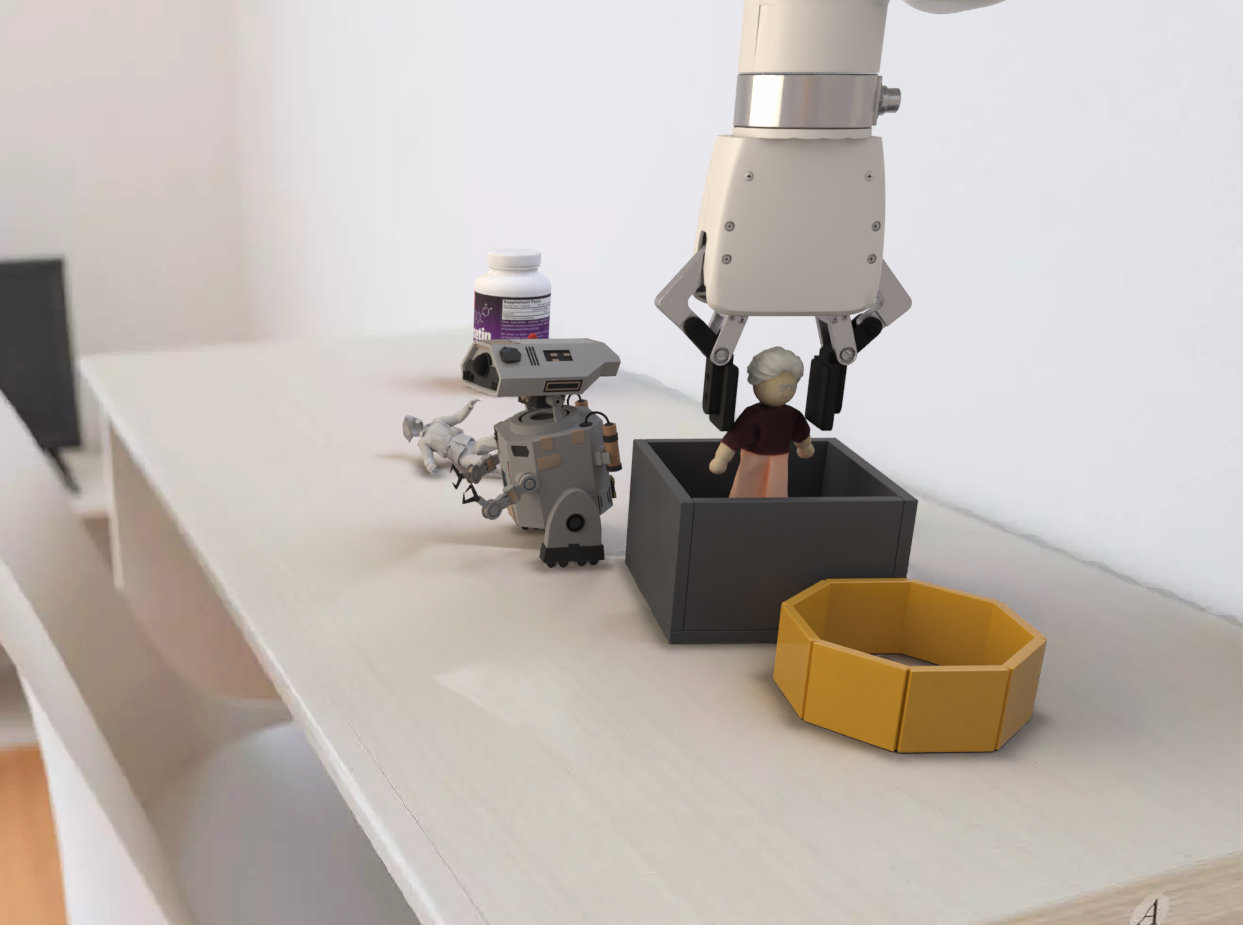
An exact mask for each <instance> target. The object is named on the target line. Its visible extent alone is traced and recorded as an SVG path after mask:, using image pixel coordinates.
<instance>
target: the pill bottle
mask: <svg viewBox="0 0 1243 925" xmlns="http://www.w3.org/2000/svg"><path fill="white" fill-rule="evenodd" d="M486 260H487V261H486V263H487V264H486V265H487V266H488V268H489V269H488V271H486V272H484V273H482V274H480V275H479V277H478V278H477V279H476V280H475V283H474V294H473V296H474V298H473V301H474V302H473V304H474V305H473V334H472V336H473V338H472V342H473V341H474V340H498V339H528V336H529V335H530V334H531V333H535V334H536V335H537V339H550V319H551V300H552V284H551V281H550V280H549V279H548V277H547V276H546V275H544V274H542V273H541V272H539V268H540V267H541V263H542V252H541V251H539V250H535V249H528V248H496V249H491V250H488V251H487V259H486Z"/></svg>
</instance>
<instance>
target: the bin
mask: <svg viewBox="0 0 1243 925" xmlns="http://www.w3.org/2000/svg"><path fill="white" fill-rule="evenodd" d="M722 438H723V437H722ZM722 438H719V437H718V438H713V437H712V438H711V437H709V438H634V439H633V440H632V453H631V468H630V482H629V496H628V510H627V511H628V512H627V523H626V524H627V525H626V526H627V527H626V540H625V541H626V542H625V553H624V554H625V555H624V563H625V565H626V567H627V569H628V571H629V572H630V575H631V576H632V578H633V580H634V582H635V584H636V585H637V588H638V589H639V591H640V593H641V595H642V597H643V598H644V600H645V602H646V604H647V605H648V607H649V609H650V611H651V613H652V615H653V616H654V619H655V620H656V622H657V624H658V626H659V628H660V630H661V632H662V633H663V635H664V638H666V640H667V643H668V644H673V645H674V644H675V645H676V644H748V643H749V644H750V643H751V644H755V643H756V644H758V643H761V644H762V643H764V644H765V643H769V644H770V643H777V639H778V631H779V622H780V614H781V605H782V603H783V602H784V601H786V600H788V599H790V598H791V597H793V596H795V595H797V594H798V593H800V592H802V591H804V590H805V589H807V588H809V587H811V586H812V585H814V584H816V583H817V582H819V581H821V580H826V579H869V578H908V570H909V564H910V559H911V558H910V557H911V551H912V544H913V538H914V531H915V526H916V518H917V512H918V505H919V499H918V498H916V497H915V496H913V495H912V494H911V493H909V492H908V491H907V490H906V489H904V488H903V487H902V486H900V485H899V484H897V483H896V482H895V481H894V480H892V479H891V478H890V477H888V476H887V475H886V474H884V473H883V472H882V471H880V470H879V469H877V468H876V467H875V466H874V465H872V464H871V463H870V462H868V461H867V460H866V459H865V458H864V457H862V456H861V455H859V454H858V453H857V452H855V451H854V450H853V449H851V448H850V447H849V446H847V445H846V444H845V443H843V442H842V441H841V440H840V439H838V438H837V437H811V444H812V446H813V447H814V454H813V456H812V457H810V458H807V459H804V458H800V457H799V456H798V454H797V446H796V445H795V444H794V441H791V442H790V451H789V457H788V485H787V493H788V497H763V498H729V495H730V492H731V489H732V487H733V483H734V480H735V476H736V473H737V470H738V467H739V465H740V461H741V449H739V450H738V451H737V452H735V454H734V456H733V458H732V460H731V461H730V462H728V464H727V468H726V470H725V472H724V473H722V474H714V473H712V472H711V471H710V468H709V465H710V463H711V461H712V460H713V459H714V458H715V456H716V451H717V449H718V448H719V446H720V444H721V440H722Z"/></svg>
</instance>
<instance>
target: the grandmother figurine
mask: <svg viewBox="0 0 1243 925" xmlns="http://www.w3.org/2000/svg"><path fill="white" fill-rule="evenodd" d="M804 371H805V366H804V362H803V361H802V359H801V356H800V355H796V353H795V352H794V351H792V350H789V349H785V348H784V347H783V346H777V345H776V346H773V347H770V348H767V349H763V350H762V351H760V352H758V353H757V354H756V355H753V356H752V360H751V361H750V362H749V364H748V365H747V366H746V373H747V379H746V380H747V381H746V382H747V383H748V384H749V385H752V392H753V394H754V396H755V398H756V399H757V400H758V402H757V403H753V404H751V405H748V406H746V407H745V408H744V409H743V410H742V412H741V413H740V414H739V415H738V417H737V418H736V419H735V420H734V427H733V429H730V431H726V433H725V434H724V435H723V436H722V440H721V444H720V446H719V448H718V449H717V451H716V456H715V458H714V459H713V460H712V461H711V463H710V465H709V468H710V471H711V472H712V473H714V474H722V473H724V472H725V470H726V468H727V464H728V462H730V461H731V460H732V458H733V456H734V454H735V452H737V451H738V450H739V449H741V461H740V465H739V467H738V470H737V473H736V476H735V480H734V483H733V487H732V489H731V492H730V495H729V498H763V497H788V493H787V485H788V457H789V451H790V442H791V441H794V444H795V445H796V446H797V454H798V456H799V457H800V458H804V459H807V458H810V457H812V456H813V454H814V447H813V446H812V444H811V438H812V437H811V427H810V424H809V423H808V422H809V421H808V420H807V419H806V418H805V414H803V412H802V411H801V410H799V409H797V408H795V407H794V406H792V405H789V404H788V403H789V402H790V401H791V400H793V398H794V396H795V394H796V393H797V389H798V384H799V382H800V381H801V380H802V378H803V377H804Z"/></svg>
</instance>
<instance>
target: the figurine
mask: <svg viewBox="0 0 1243 925" xmlns="http://www.w3.org/2000/svg"><path fill="white" fill-rule="evenodd" d="M621 363H622V361H621V357H620V356H619V355H618V354H617V353H616V352H615V351H614V350H613V349H612V348H611V347H610V346H608V344H607V343H605V342H603V341H599V340H595V339H591V338H588V337H584V338H583V337H582V338H580V337H579V338H577V337H575V338H549V339H537V335H536V334H535V333H531V334H530V335H529V336H528V339H498V340H474V341H473V340H472V343H471V345H470V346H469V349H468V350H467V352H466V354H465V356H464V358H463V359H462V361H461V363H460V373H461V383H462V385H464V386H466V387H468V388H471V389H473V390H475V391H478V392H480V393H483V394H487V395H488V396H489V395H490V396H492V397H495V398H511V397H512V398H513V397H515V398H516V397H517V402H518V403H520V404H523V405H524V408H525V409H524V410H521V411H519V412H516V413H514V415H512V416H510V417H507V418H506V419H504V420H503V421H501V420H500V421H499V422H497V423H495V424H493V434H494V435H495V436H496V437H495V436H494V439H495V440H496V444H497V448H498V449H497V452H496V453H494V454H491V453H488V454H485V455H483V456H482V457H481V458H480V459H481V461H482V462H478V463H477V464H476V465H472V464H470V465H468V466H467V468H465V471H462V472H460V471H459V469H458V468H457V467H456V465H455V464H454V463H451V465H450V470H449V474H451V473H452V472H453V471H454V473H455V475H456V477H457V480H456V483H454V482H451V484H452V487H453V488H454V489H455V490H458V488H459V487H460V484H461V482H462V481H463V479H464V480H466V482H467V483H468V484H469V485H468V487H467V488H466V490H464V492H463V493H462V501H461V503H462V504H463V505H466V504H470V503H474V502H475V503H477V504H478V505H479V506H481V516H482V517H483V518H484V519H487V520H491V521H495V520H498V518H499V517H500V516H501V515H502V512H503V510H505V509H506V510H507V512H508V515H509V516H510V517H511V519H512V521H513V522H514V523H515V525H516V526H517V527H520V528H521V529H522V530H523V531H527V530H529V529H530V528H531V529H533V530H536V531H537V530H539V529H543V530H544V538H543V542H541V544H540V549H539V555H538V558H539V559H540V561H541V562H542V563H543V564H545V565H546V566H547V567H548V568H549V569H553V568H555V567H556V566H557V564H558V566H559V567H560V568H566V567H567V566H568V565H569V563H576V564H577V566H579V567H585V566H586V565H587V563H588V564H589V565H590V566H592V567H595V566H597V565H599V564H598V563H599V562H600V561H606V556H605V555H606V554H605V546H604V544H603V542H602V541H603V538H602V537H603V536H602V530H603V529H602V519H601V516H602V515H603V514H605V513H606V512H607V511H608V510H610V509H612V507H613V506H614V502H613V501H614V500H613V499H617V492H616V487H615V486H616V480H615V477H614V476H613V475H612V474H610V473H616V472H620V471H622V470H623V462H621V455H620V446H619V432H618V430H617V429H618V428H617V423H615V422H612V421H610V419H609V417H608V416H607V415H606V414H605V413H603V412H601V411H598V410H597V411H596V410H594V411H593V410H592V409H591V408H589V401H588V399H584V398H582V396H581V395H583V394H584V393H585V392H586V391H587V390H588V389H589V388H590V387H591V386H592V385H593V384H594V383H595V382H596V381H597V380H598V379H599V378H601V377H602V378H605V377H617V374H618V372H619V368H620V366H621ZM573 395H576V396H577V397H578V399H577V400H576V401H574V405H572V404H570V399H571V397H572V396H573ZM566 396H567V397H566ZM565 402H566V404H565ZM598 415H600V416H602V417H603V418H604V419H605V420H606V422H605V423H604V420H603V419H602V418H601V417H600V416H598ZM498 464H499V465H500V467H501V474H500V475H501V480H502V486H503V488H502V493H499V494H498V495H497V496H496V497H495V498H489V499H487V500H486V498H484V497H483V496H481V495H479V494H478V492H477V490H476V488H475V487H474V486H475V485H478V484H479V483H480V482H481V480H482V477H483V476H485V475H488V474H491V473H490V472H493V471H494V470H496V468H497V467H496V465H498ZM487 473H488V474H487ZM473 484H474V485H473ZM470 490H471V493H472V496H470V497H469V498H467V499H466V494H465V493H467V492H469V491H470Z"/></svg>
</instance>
